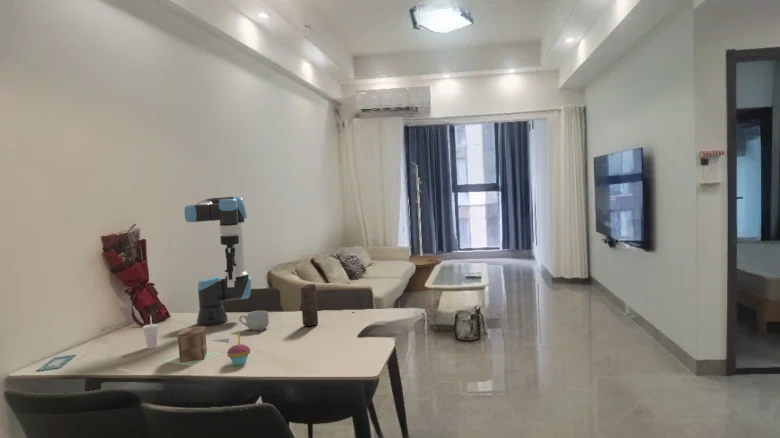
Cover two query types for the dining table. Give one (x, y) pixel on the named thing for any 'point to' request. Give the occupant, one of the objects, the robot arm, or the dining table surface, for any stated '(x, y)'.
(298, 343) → the dining table surface
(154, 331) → the smoothie
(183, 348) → the walnut cover
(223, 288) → the robot arm
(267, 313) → the teacup
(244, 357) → the cupcake
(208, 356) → the green board
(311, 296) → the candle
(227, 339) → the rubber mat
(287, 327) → the dining table surface
